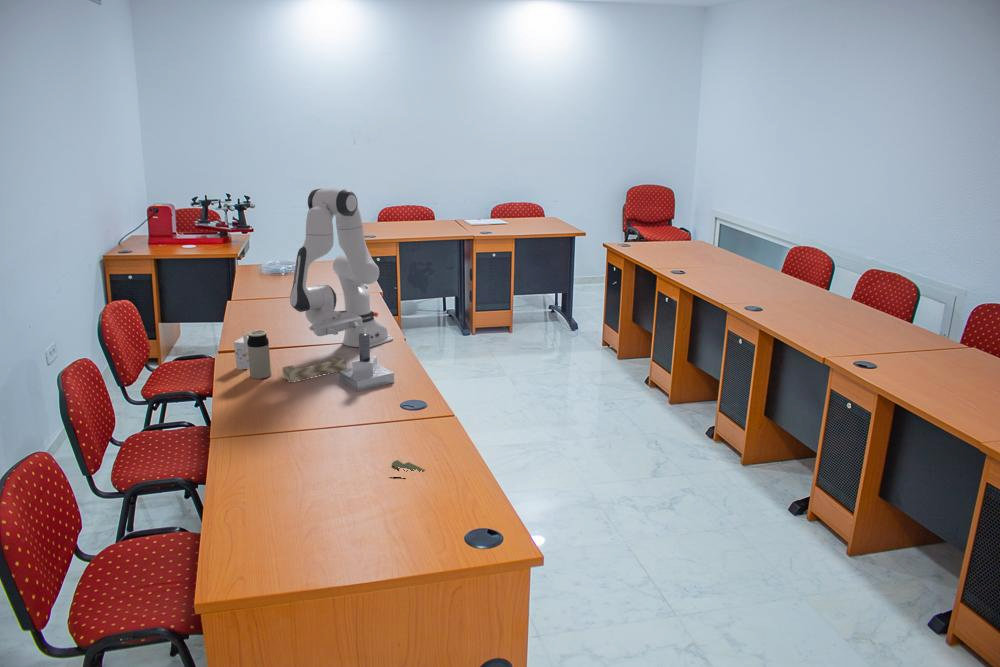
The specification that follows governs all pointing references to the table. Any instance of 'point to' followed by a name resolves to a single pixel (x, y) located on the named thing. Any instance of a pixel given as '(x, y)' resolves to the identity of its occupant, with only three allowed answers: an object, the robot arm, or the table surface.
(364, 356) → the steel axle
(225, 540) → the table surface
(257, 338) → the travel mug
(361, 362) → the v block
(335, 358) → the notched beam
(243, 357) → the ink cartridge box
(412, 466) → the olive green flat piece
